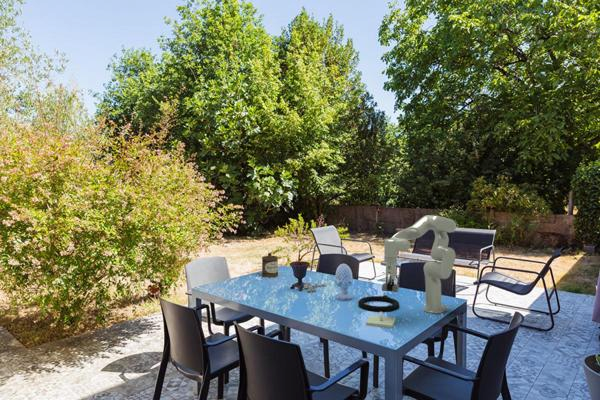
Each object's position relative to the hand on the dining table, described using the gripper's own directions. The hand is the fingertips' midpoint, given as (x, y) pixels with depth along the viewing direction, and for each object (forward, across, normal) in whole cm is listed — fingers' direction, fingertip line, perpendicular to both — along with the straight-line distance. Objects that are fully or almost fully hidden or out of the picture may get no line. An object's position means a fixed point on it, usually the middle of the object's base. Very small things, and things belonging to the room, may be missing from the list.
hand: (390, 289), depth 226 cm
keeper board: (+19, -7, +4) cm, 20 cm away
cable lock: (+19, +27, +12) cm, 35 cm away
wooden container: (+19, +85, +125) cm, 152 cm away
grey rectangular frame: (+1, 0, 0) cm, 1 cm away
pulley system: (+19, +56, +71) cm, 92 cm away
